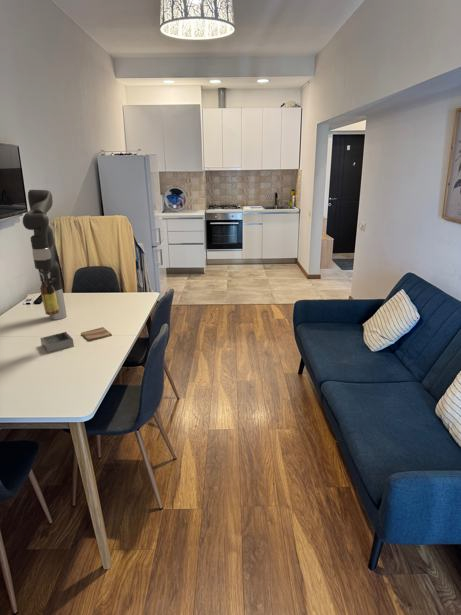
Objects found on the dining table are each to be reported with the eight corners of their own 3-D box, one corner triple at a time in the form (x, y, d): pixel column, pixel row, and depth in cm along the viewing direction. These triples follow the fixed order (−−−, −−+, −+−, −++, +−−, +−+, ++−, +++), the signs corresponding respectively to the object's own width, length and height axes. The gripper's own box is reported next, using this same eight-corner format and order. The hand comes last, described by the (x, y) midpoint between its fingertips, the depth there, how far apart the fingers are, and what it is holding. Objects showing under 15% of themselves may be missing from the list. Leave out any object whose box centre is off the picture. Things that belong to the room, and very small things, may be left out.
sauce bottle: (62, 311, 201) (55, 272, 194) (53, 316, 195) (45, 275, 188) (51, 310, 203) (44, 271, 196) (41, 314, 197) (34, 274, 190)
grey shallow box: (41, 345, 206) (40, 338, 204) (67, 338, 213) (65, 331, 211) (47, 353, 197) (46, 345, 196) (73, 346, 204) (72, 338, 203)
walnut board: (81, 334, 218) (81, 332, 218) (103, 328, 225) (103, 327, 224) (89, 341, 209) (88, 339, 209) (111, 335, 216) (111, 333, 215)
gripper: (29, 256, 193) (36, 290, 199) (37, 261, 182) (44, 297, 188) (46, 253, 197) (52, 287, 203) (55, 259, 186) (60, 294, 192)
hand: (48, 292), depth 195 cm, fingers closed on sauce bottle, 6 cm apart
